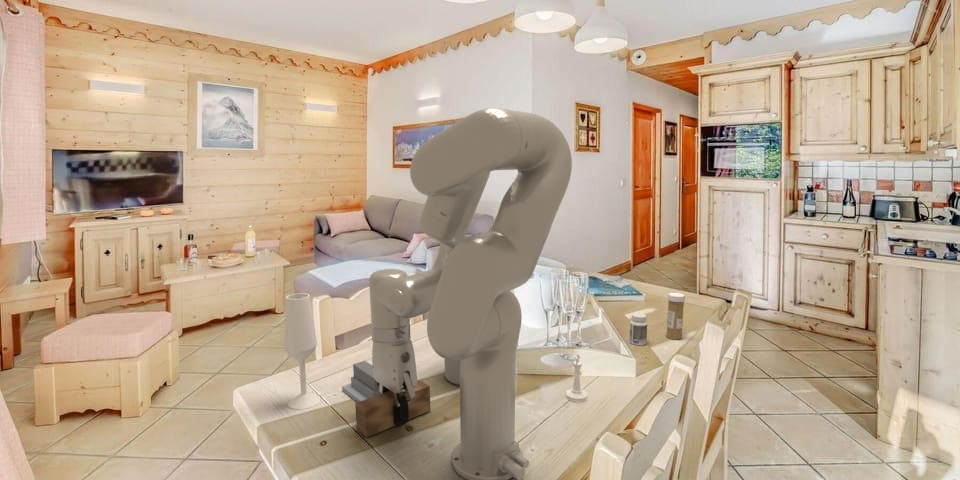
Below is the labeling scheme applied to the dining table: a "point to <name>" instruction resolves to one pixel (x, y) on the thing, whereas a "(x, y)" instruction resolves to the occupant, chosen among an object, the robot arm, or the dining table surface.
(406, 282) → the robot arm
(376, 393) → the block
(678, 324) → the sprinkles bottle
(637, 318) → the pill bottle
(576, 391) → the chess piece
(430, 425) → the dining table surface
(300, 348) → the champagne flute
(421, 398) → the walnut block
